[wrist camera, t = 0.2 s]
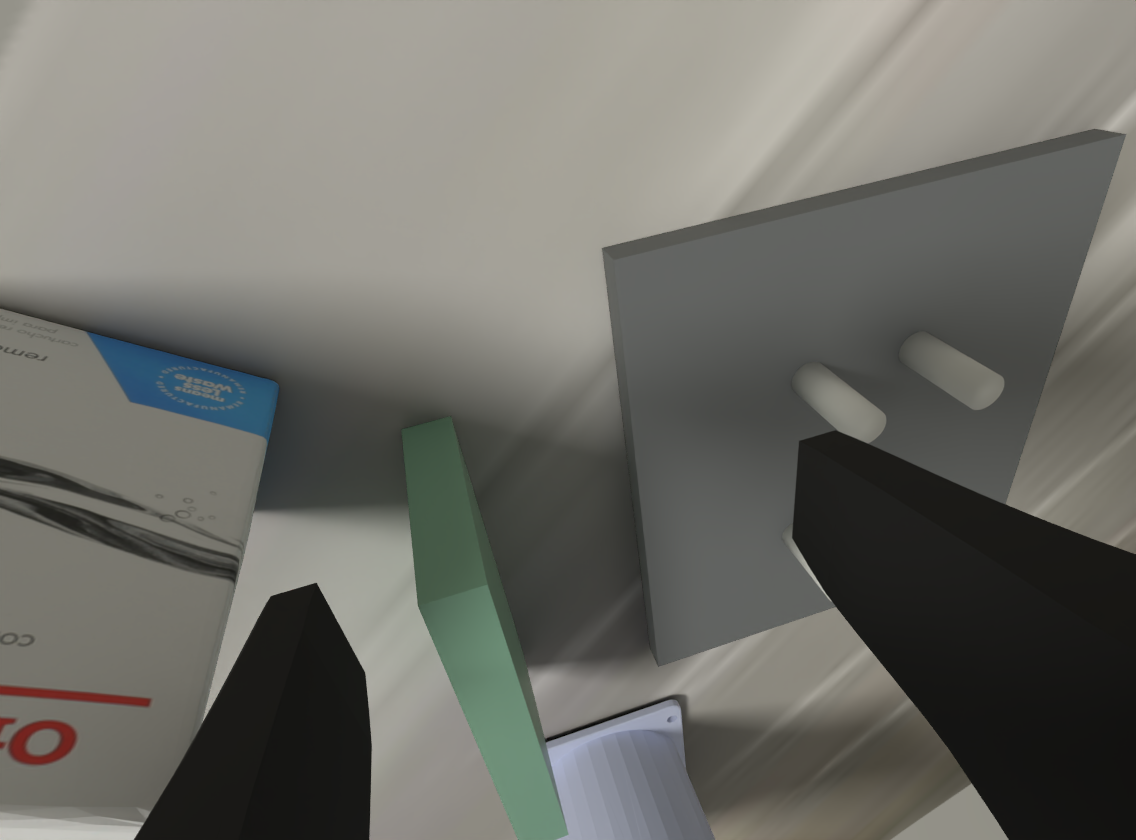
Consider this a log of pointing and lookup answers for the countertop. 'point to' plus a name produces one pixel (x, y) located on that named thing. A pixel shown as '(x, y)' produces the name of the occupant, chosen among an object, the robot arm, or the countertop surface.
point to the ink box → (113, 567)
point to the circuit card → (477, 629)
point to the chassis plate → (835, 362)
